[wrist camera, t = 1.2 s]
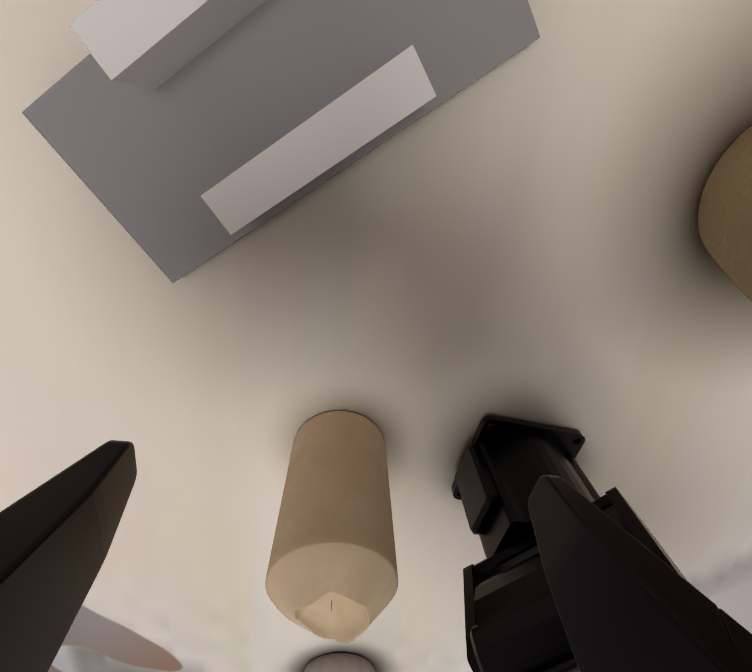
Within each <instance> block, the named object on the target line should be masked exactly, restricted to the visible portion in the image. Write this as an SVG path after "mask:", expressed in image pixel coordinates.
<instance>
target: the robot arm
mask: <svg viewBox="0 0 752 672" xmlns="http://www.w3.org/2000/svg"><path fill="white" fill-rule="evenodd" d="M490 423H493V424H492V425H490V426H488V424H490ZM574 439H575V440H574ZM584 442H585V438H584V436H583V435H582V434H581V432H580V431H577V430H571V429H566V428H560V427H555V426H549V425H543V424H538V423H532V422H527V421H521V420H516V419H510V418H504V417H499V416H493V415H489V416H486V417H485V418H483V420H482V421H481V423H480V426H479V428H478V430H477V433H476V435H475V437H474V439H473V442H472V444H471V445H470V446H469V447H468V448H467V450H466V452H465V454H464V457H463V459H462V461H461V464H460V466H459V468H458V470H457V473H456V475H455V478H456V480H455V482H454V485H453V487H452V493H453V496H454V498H456V499H459V500H462V502H463V506H464V509H465V513H466V516H467V519H468V523H469V526H470V529H471V531H472V532H473V534H478V535H479V536H480V539H481V542H482V545H483V549H484V552H485V555H486V558H487V559H485V560H483V561H481V562H479V563H478V564H476V565H473V564H472V565H470V566H468V567H466V568H464V569H463V576H464V602H465V628H466V644H467V659H468V662H469V665H470V667H471V669H472V671H473V672H752V634H751V633H750V632H749V631H747V630H746V629H745V628H744V627H742V626H741V625H740V624H739V623H737V622H736V621H735V620H734V619H733V618H731V617H730V616H729V615H728V614H727V613H725V612H724V611H723V610H722V609H719V608H717V606H716V604H714V603H713V602H712V601H711V600H709V599H708V598H707V597H706V596H705V595H703V594H702V593H701V592H700V591H699V590H697V589H696V588H695V587H694V586H692V585H691V584H690V583H689V582H688V581H687V580H686V578H685V577H684V576H683V574H682V573H681V572H680V570H679V569H678V568H677V566H676V565H675V564H674V562H673V561H672V560H671V558H670V557H669V556H668V554H667V553H666V552H665V550H664V549H663V548H662V546H661V545H660V544H659V542H658V541H657V540H656V538H655V537H654V536H653V534H652V533H651V532H650V531H649V529H648V528H647V527H646V525H645V524H644V523H643V522H642V520H641V519H640V518H639V516H638V515H637V514H636V513H635V511H634V510H633V509H632V508H631V506H630V505H629V504H628V502H627V501H626V500H625V499H624V497H623V496H622V495H621V493H620V492H619V491H618V490H617V488H616V487H614V488H612V489H611V490H609V491H607V492H605V493H606V495H604V496H602V497H600V496H599V495H598V493H597V492H596V490H595V489H594V487H593V486H592V484H591V483H590V481H589V480H588V478H587V477H586V476H585V474H584V473H583V471H582V470H581V468H580V467H579V465H578V464H577V462H576V461H575V457H576V456H577V454H578V452H579V450H580V449H581V447H582V445H583V444H584ZM136 475H137V468H136V459H135V450H134V445H133V443H132V442H129V441H116V440H111V441H108V442H106V443H105V444H103V445H101V446H100V447H98V448H97V449H95V450H94V451H92V452H91V453H89V454H88V455H86V456H85V457H83V458H82V459H80V460H79V461H77V462H76V463H74V464H73V465H71V466H70V467H68V468H66V469H65V470H63V471H62V472H60V473H59V474H57V475H56V476H54V477H53V478H51V479H50V480H48V481H47V482H45V483H44V484H42V485H41V486H39V487H38V488H36V489H35V490H33V491H32V492H30V493H28V494H27V495H25V496H24V497H22V498H21V499H19V500H18V501H16V502H15V503H13V504H12V505H10V506H9V507H7V508H6V509H4V510H3V511H1V512H0V672H48V670H49V668H50V666H51V664H52V662H53V660H54V658H55V656H56V654H57V653H58V651H59V649H60V647H61V645H62V642H63V641H64V639H65V637H66V635H67V633H68V631H69V629H70V627H71V625H72V623H73V621H74V619H75V617H76V615H77V613H78V611H79V609H80V608H81V606H82V604H83V602H84V600H85V598H86V596H87V594H88V592H89V590H90V588H91V586H92V584H93V582H94V580H95V578H96V576H97V574H98V572H99V570H100V568H101V566H102V564H103V562H104V560H105V558H106V555H107V553H108V550H109V548H110V545H111V543H112V540H113V538H114V535H115V532H116V530H117V527H118V525H119V522H120V519H121V517H122V514H123V512H124V509H125V506H126V504H127V501H128V499H129V496H130V493H131V491H132V488H133V486H134V483H135V480H136Z"/></svg>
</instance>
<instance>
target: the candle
mask: <svg viewBox="0 0 752 672" xmlns="http://www.w3.org/2000/svg"><path fill="white" fill-rule="evenodd" d="M265 584H266V591H267V594H268V596H269V598H270V600H271V601H272V602H273V604H274V605H275V606H276V608H277V609H278V610H279V611H280V612H281V613H282V614H283V615H284V616H285V617H286V618H288V619H289V620H290V621H292V622H294V623H296V624H297V625H299V626H301V627H303V628H305V629H307V630H308V631H310V632H312V633H313V634H315V635H317V636H319V637H322V638H326V639H333V640H336V641H339V642H341V643H348V642H351V641H353V640H354V639H356V638H357V637H358V636H359V635H360V634H362V633H363V632H364V631H365V630H366V629H367V628H368V626H369V625H370V624H371V623H372V621H373V620H374V619H375V618H376V617H377V616H378V615H379V614H380V613H381V612H382V611H383V609H384V608H385V607H386V606H387V605H388V604H389V602H390V601H391V600H392V599H393V597H394V595H395V593H396V591H397V587H398V574H397V564H396V553H395V542H394V532H393V521H392V511H391V500H390V490H389V479H388V469H387V458H386V449H385V443H384V439H383V436H382V434H381V432H380V430H379V429H378V427H377V426H376V425H375V424H374V423H373V422H372V421H370V420H369V419H368V418H366V417H364V416H362V415H360V414H357V413H353V412H349V411H330V412H325V413H322V414H319V415H317V416H314V417H313V418H311V419H310V420H308V421H307V422H306V423H305V424H304V425H303V426H302V427H301V428H300V430H299V431H298V433H297V435H296V437H295V440H294V443H293V448H292V452H291V457H290V462H289V467H288V472H287V477H286V482H285V487H284V491H283V496H282V501H281V506H280V511H279V516H278V521H277V526H276V531H275V536H274V541H273V546H272V551H271V556H270V561H269V566H268V571H267V576H266V582H265Z"/></svg>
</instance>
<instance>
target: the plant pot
mask: <svg viewBox="0 0 752 672" xmlns="http://www.w3.org/2000/svg"><path fill="white" fill-rule="evenodd" d="M698 227H699V234H700V237H701V240H702V242H703V244H704V246H705V248H706V249H707V251H708V252H709V253H710V255H711V256H712V257H713V258H714V260H715V261H716V262H717V263H718V265H719V266H720V267H721V268H722V270H723V271H724V272H725V273H726V274H727V275H728V277H729V278H730V279H731V280H732V281H733V282H734V283H735V285H736V286H737V287H738V288H739V289H740V290H741V291H742V292H743V293H744V294H745V296H746V297H747V298H748V299H749V300H750V301H751V302H752V126H751V127H749V128H748V129H747V130H746V131H744V132H743V133H742V134H741V135H740V136H739V137H738V138H737V139H736V140H735V141H734V142H733V143H732V144H731V145H730V147H729V148H728V149H727V150H726V151H725V152H724V154H723V155H722V157H721V158H720V159H719V161H718V162H717V164H716V165H715V167H714V169H713V170H712V172H711V174H710V176H709V178H708V180H707V182H706V185H705V187H704V190H703V193H702V196H701V200H700V205H699V212H698Z"/></svg>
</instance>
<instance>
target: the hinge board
mask: <svg viewBox="0 0 752 672" xmlns="http://www.w3.org/2000/svg"><path fill="white" fill-rule="evenodd" d="M69 26H70V27H71V29H72V30H73V31H74V33H75V34H76V35H77V37H78V38H79V39H80V40H81V42H82V43H83V44H84V46H85V47H86V48H87V49H88V51H89V52H90V54H89V55H88V56H87V57H86V58H85V59H83V60H82V61H81V62H80V63H79V64H78V65H76V66H75V67H74V68H73V69H72V70H71V71H69V72H68V73H67V74H66V75H65V76H64V77H62V78H61V79H60V80H59V81H58V82H57V83H55V84H54V85H53V86H52V87H51V88H50V89H49V90H47V91H46V92H45V93H44V94H43V95H42V96H40V97H39V98H38V99H37V100H36V101H35V102H33V103H32V104H31V105H30V106H29V107H28V108H26V109H25V110H24V111H23V112H22V113H23V114H24V116H25V117H26V118H27V119H28V120H29V121H30V122H31V123H32V125H33V126H34V127H35V128H36V129H37V130H38V131H39V132H40V134H41V135H42V136H43V137H44V138H45V139H46V140H47V142H48V143H49V144H50V145H51V146H52V147H53V148H54V149H55V151H56V152H57V153H58V154H59V155H60V156H61V157H62V158H63V160H64V161H65V162H66V163H67V164H68V165H69V166H70V167H71V169H72V170H73V171H74V172H75V173H76V174H77V175H78V176H79V178H80V179H81V180H82V181H83V182H84V183H85V184H86V186H87V187H88V188H89V189H90V190H91V191H92V192H93V193H94V195H95V196H96V197H97V198H98V199H99V200H100V201H101V202H102V204H103V205H104V206H105V207H106V208H107V209H108V210H109V211H110V213H111V214H112V215H113V216H114V217H115V218H116V219H117V220H118V222H119V223H120V224H121V225H122V226H123V227H124V228H125V229H126V231H127V232H128V233H129V234H130V235H131V236H132V237H133V239H134V240H135V241H136V242H137V243H138V244H139V245H140V246H141V248H142V249H143V250H144V251H145V252H146V253H147V254H148V255H149V257H150V258H151V259H152V260H153V261H154V262H155V263H156V264H157V266H158V267H159V268H160V269H161V270H162V271H163V272H164V273H165V275H166V276H167V277H168V278H169V279H170V280H171V281H172V283H174V282H176V281H177V280H179V279H180V278H182V277H183V276H185V275H186V274H187V273H189V272H190V271H192V270H193V269H195V268H196V267H198V266H199V265H201V264H202V263H204V262H205V261H207V260H208V259H210V258H211V257H213V256H214V255H216V254H217V253H219V252H220V251H222V250H223V249H225V248H226V247H228V246H229V245H231V244H232V243H234V242H235V241H237V240H238V239H240V238H241V237H243V236H244V235H246V234H247V233H249V232H250V231H252V230H253V229H255V228H256V227H258V226H259V225H261V224H262V223H264V222H265V221H267V220H268V219H270V218H271V217H273V216H274V215H276V214H277V213H279V212H280V211H282V210H283V209H285V208H286V207H288V206H289V205H291V204H292V203H294V202H295V201H297V200H298V199H300V198H301V197H302V196H304V195H305V194H307V193H308V192H310V191H311V190H313V189H314V188H316V187H317V186H319V185H320V184H322V183H323V182H325V181H326V180H328V179H329V178H331V177H332V176H334V175H335V174H337V173H338V172H340V171H341V170H343V169H344V168H346V167H347V166H349V165H350V164H352V163H353V162H355V161H356V160H358V159H359V158H361V157H362V156H364V155H365V154H367V153H368V152H370V151H371V150H373V149H374V148H376V147H377V146H379V145H380V144H382V143H383V142H385V141H386V140H388V139H389V138H391V137H392V136H394V135H395V134H397V133H398V132H400V131H401V130H403V129H404V128H406V127H407V126H409V125H410V124H412V123H413V122H415V121H416V120H417V119H419V118H420V117H422V116H423V115H425V114H426V113H428V112H429V111H431V110H432V109H434V108H435V107H437V106H438V105H440V104H441V103H443V102H444V101H446V100H447V99H449V98H450V97H452V96H453V95H455V94H456V93H458V92H459V91H461V90H462V89H464V88H465V87H467V86H468V85H470V84H471V83H473V82H474V81H476V80H477V79H479V78H480V77H482V76H483V75H485V74H486V73H488V72H489V71H491V70H492V69H494V68H495V67H497V66H498V65H500V64H501V63H503V62H504V61H506V60H507V59H509V58H510V57H512V56H513V55H515V54H516V53H518V52H519V51H521V50H522V49H524V48H525V47H527V46H528V45H530V44H531V43H532V42H534V41H535V40H537V39H538V38H540V36H539V33H538V30H537V27H536V24H535V21H534V18H533V15H532V12H531V9H530V6H529V3H528V0H97V1H96V2H95V3H94V4H93V5H92V6H90V7H89V8H88V9H87V10H86V11H85V12H84V13H83V14H81V15H80V16H79V17H78V18H77V19H76V20H75V21H74V22H72V23H71V24H70V25H69Z"/></svg>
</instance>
